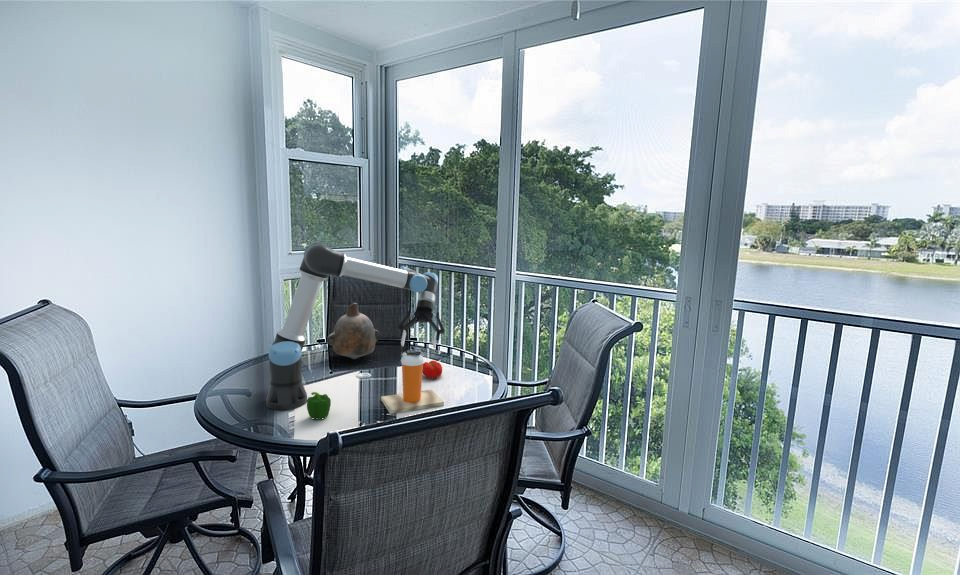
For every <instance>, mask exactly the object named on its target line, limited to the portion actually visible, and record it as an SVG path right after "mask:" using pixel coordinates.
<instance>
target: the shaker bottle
mask: <svg viewBox="0 0 960 575" xmlns="http://www.w3.org/2000/svg"><path fill="white" fill-rule="evenodd" d="M424 359H425V358H424V356H423V355H422V352H421V351H419V350H418V351H417V350H413V351H412V350H411V349H407V350H406V351H404V352H402V356H401V358H400V362H401V363H400V364H401V373H402V374H401V375H402V378H401V380H402V394H403V400H404V401H405V402H409V403H413V402H418V401H420V399H421V391H422V383H423V373H422V371H423V363H425V361H424Z"/></svg>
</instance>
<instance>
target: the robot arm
mask: <svg viewBox="0 0 960 575" xmlns="http://www.w3.org/2000/svg"><path fill="white" fill-rule="evenodd" d="M346 254H347V253H345V252H340V251H338V250H335V249H332V247H331V246H330V245H329V244H326V243H324V242H321V241H320V242H312V243H311V244H309V245H307V247H306V248H305V249H304V252H303V257H302V261H301V263H300V267H299V270H298V271H299V272H300V275H301V276H300V278H299V282H298V284H297V286H296V289H295V293H294V296H293V298H292V301H291V304H290V307H289V309H288V312H287V314H286V315H287V316H286V318H285V321H284V323H283V327H282V329H279V330H278V331H277V332H276V335H275V337H274V341H273V342H272V343H271V345H270V347H269V350H268V359H269V361H268V362H269V382H270V383H269V384H270V385H269V389H268V392H267V396H266V399H265V405H266V407H267V408H269V409H271V410H275V411H287V410H292V409H297V408H299V407H301V406H304V405H305V404H307V399H308V394H307V391H306V389H305V386H304V383H303V371H302V368H303V367H302V364H303V363H302V356H303V355H302V353H303V348H304V346H305V342H306V339H307V338H306V336H305V335H304V334H305V333H306V332H305V331H306V328H307V326H308V323H309V320H310V317H311V314H312V312H313V308H314V306H315V303H316V300H317V297H318V295H319V292H320V290H321V287H322V283H323V282H324V281H326V280H327V279H328V278H329V276H332V277H338V278H341V277H342V276H344V277H348V278H349V277H350V278H353V279H354V278H355V279H358V280H365V281H368V282H372V283H373V282H374V283H376V284H377V283H378V284H382V285H386V286H392V287H397V288H401V289H405V290H409V291H412V292H414V293H418V297H417V303H416V308H415V310H414V312H413V311H411V310H408V312H407V314H406V315H405V316H404V318H403V319H402V320H401V322H400V323H399V324H398V325H397V326H396V327H397V330H398V332H400V334H399V337H400V339H401V341H400V345H401V347H404V345H405V341H406V336H407V332H406V331H408V330H409V329H410V328H411V327H412V326H414V325H416V324H417V323H421V324H422V323H424V324H426V323H428V324H429V325H430V326H431V327H432V329H433V330H434V337H433V342H432V347H433V349H436V346H437V342H438V341H439V340H440V336H441V335H442V334H445V333H446V332H445V328H444V326H443V322H442V321H441V318H440V312H438V311H437V312H435V313H434V307H435V306H434V305H435V303H436V302H435V301H436V297H437V296H436V294H437V289H438V284H439V277H438V275H437V274H436V273H434V272H428V271H427V272H426V271H425V272H423V274H422V273H419V272H418V271H416V270H414V269H411V268H409V267H406V266H400V267H399V268H395V267H391V266H387V265H384V264H379V263H374V262H371V261H366V260H362V259H358V258H354V257H351V256H350V257H349V256H347V255H346ZM433 318H435V319H436V322H437V324H438V326H439V327H438V326H437V325H436V323H435V322H434V321H433ZM410 319H411V320H410ZM439 342H440V341H439Z"/></svg>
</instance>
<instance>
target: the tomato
mask: <svg viewBox="0 0 960 575" xmlns="http://www.w3.org/2000/svg"><path fill="white" fill-rule="evenodd" d="M442 373H443V366H442V364H441V363H440V362H438V361H436V360H430V361H429V362H428V361H424V363H423V371H422V376H423V377H425V378H427V379H438V378H439V377H441V375H442Z"/></svg>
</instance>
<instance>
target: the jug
mask: <svg viewBox="0 0 960 575" xmlns="http://www.w3.org/2000/svg"><path fill="white" fill-rule="evenodd" d="M376 334H377V337H376ZM331 338H332V339H331ZM330 339H331V340H330ZM380 339H381V333H380V332H379V330H377V329H375V328H374V324H373V322H372V321H371V319H370V317H368V316H367V315H365V314H363V313H361V312H360V311H359V307H358V303H357V302H353V303H351V305H349V306H348V307H347V312H346V314H344V315H342V316H340V317H339V319H338V320H337V321H336V323H335V325H334V327H333V332H332V333H330V334H329V335H328V336H327V338H326V342H327V344H328V345H330V346H332V349H333V352H334V353H336V354H337V355H339V356H343V357H347V358H349V359H352V360H356V359H358V358H360V357H363V356H367V355H369V354H371V353H374V350H375V348H376V342H378V341H380Z"/></svg>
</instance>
